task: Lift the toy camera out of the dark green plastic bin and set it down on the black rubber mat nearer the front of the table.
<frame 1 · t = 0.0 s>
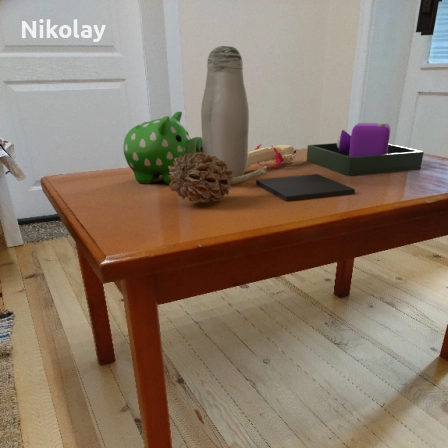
hand: (424, 34, 98), 30 cm above the table, tool pointing down, fingers open, 13 cm apart
cat figure: (260, 169, 118), on the table
grey bottle: (226, 183, 104), on the table
mat: (303, 188, 97), on the table
bin: (360, 164, 120), on the table
pine cone: (220, 201, 90), on the table
piggy bank: (164, 181, 107), on the table
toy camera: (360, 162, 120), point 1 cm above the table, touching bin
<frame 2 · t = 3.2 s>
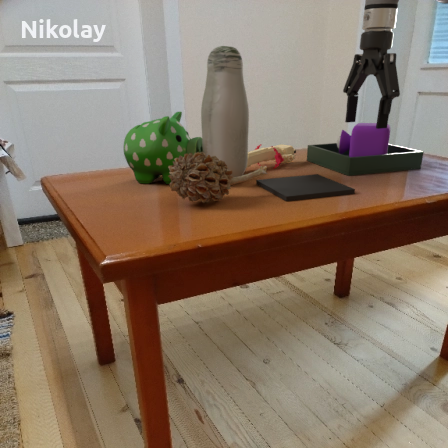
hand: (364, 125, 115), 10 cm above the table, tool pointing down, fingers open, 13 cm apart
toy camera: (360, 162, 120), point 1 cm above the table, touching bin, gripper
everything else where it was.
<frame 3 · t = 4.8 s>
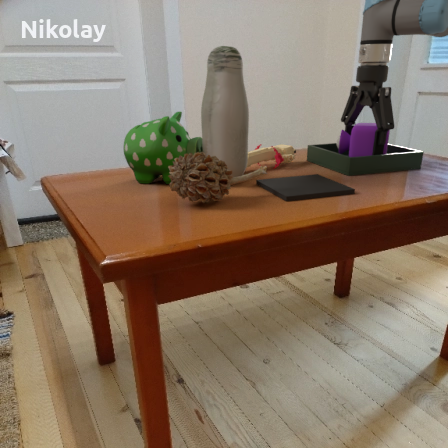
hand: (361, 154, 118), 3 cm above the table, tool pointing down, fingers closed on toy camera, 13 cm apart
toy camera: (360, 162, 120), point 1 cm above the table, touching bin, gripper
everything else where it was.
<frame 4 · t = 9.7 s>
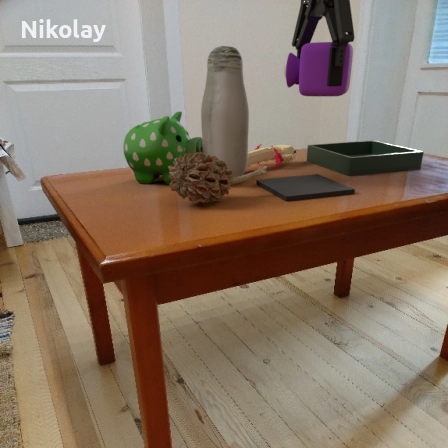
hand: (316, 85, 90), 21 cm above the table, tool pointing down, fingers closed on toy camera, 13 cm apart
toy camera: (315, 96, 91), point 18 cm above the table, touching gripper
everything else where it was.
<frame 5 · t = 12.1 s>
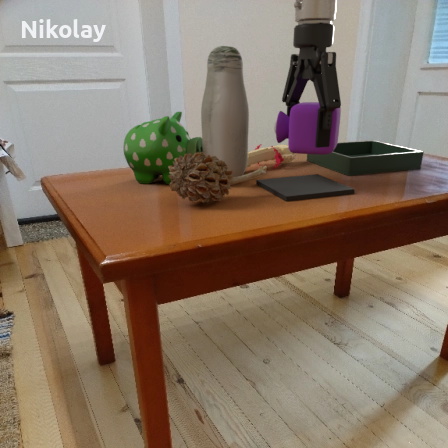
hand: (306, 142, 93), 10 cm above the table, tool pointing down, fingers closed on toy camera, 13 cm apart
toy camera: (305, 152, 94), point 8 cm above the table, touching gripper
everything else where it was.
when the fingers open (3 cm above the table, at t = 14.4 s): toy camera stays where it is, resting on mat.
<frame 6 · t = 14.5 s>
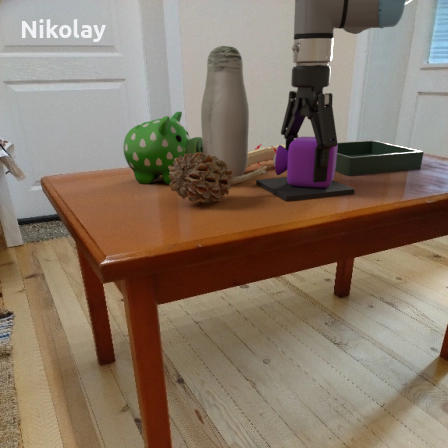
hand: (304, 175, 96), 3 cm above the table, tool pointing down, fingers open, 13 cm apart
toy camera: (303, 184, 97), point 1 cm above the table, touching mat
everything else where it was.
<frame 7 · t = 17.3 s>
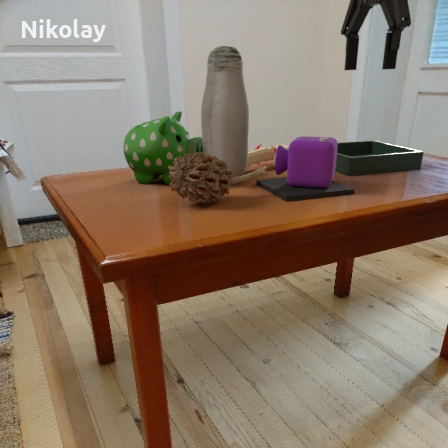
hand: (368, 69, 96), 23 cm above the table, tool pointing down, fingers open, 13 cm apart
nothing on the table moved.
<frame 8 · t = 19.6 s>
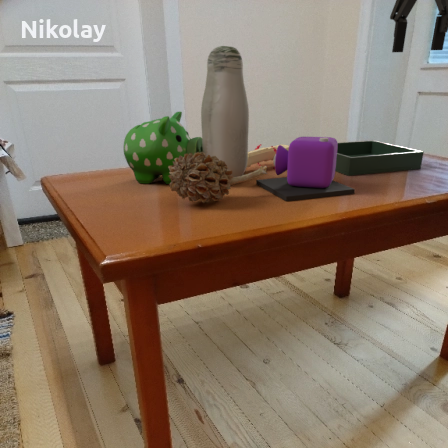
hand: (415, 51, 105), 27 cm above the table, tool pointing down, fingers open, 13 cm apart
nothing on the table moved.
at the end: toy camera inside the target area on the mat (0.4 cm from its centre), point 0.8 cm above the mat's base; toy camera tilted 0°; the gripper is holding nothing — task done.
